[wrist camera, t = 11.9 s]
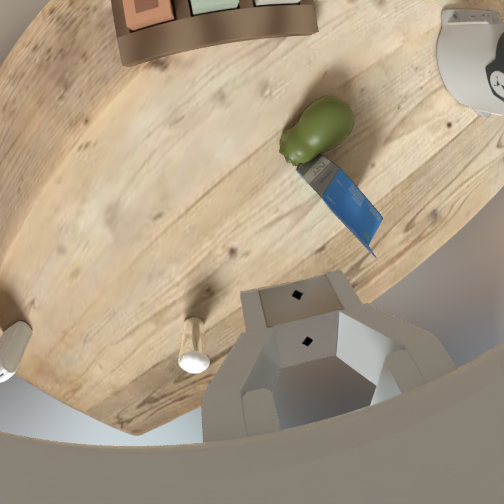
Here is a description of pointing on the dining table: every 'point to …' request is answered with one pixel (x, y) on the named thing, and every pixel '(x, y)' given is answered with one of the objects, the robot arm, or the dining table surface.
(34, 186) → the dining table surface
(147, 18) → the key rust
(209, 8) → the key sage
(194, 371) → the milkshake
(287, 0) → the key ivory
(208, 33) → the keypad base
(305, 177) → the label tape cartridge
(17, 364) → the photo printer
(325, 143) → the pear
